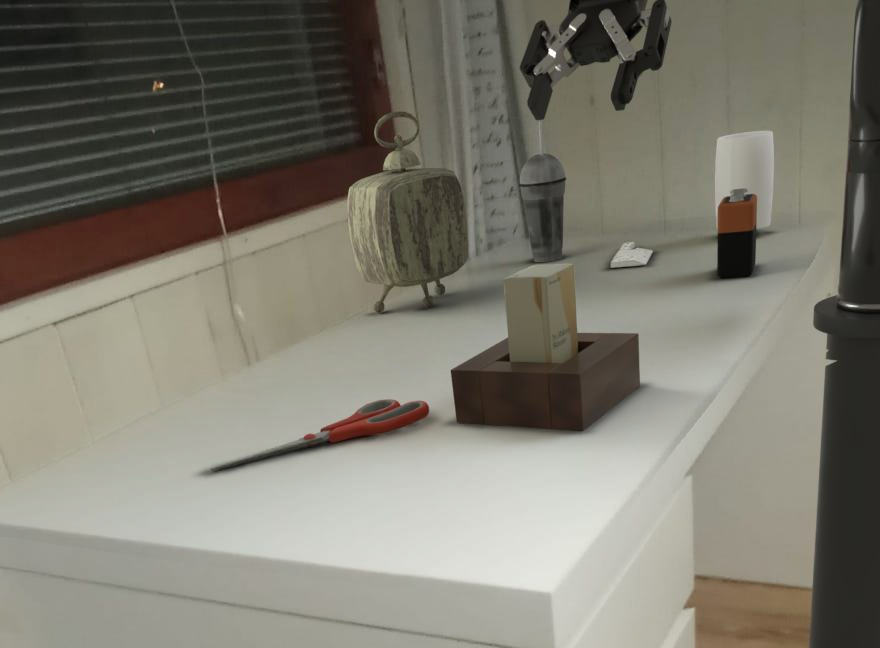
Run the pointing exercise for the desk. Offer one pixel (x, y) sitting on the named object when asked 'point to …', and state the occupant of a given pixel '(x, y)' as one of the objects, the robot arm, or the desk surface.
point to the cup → (746, 170)
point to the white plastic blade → (630, 256)
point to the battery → (736, 234)
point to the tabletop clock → (407, 222)
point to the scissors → (356, 426)
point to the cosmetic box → (541, 314)
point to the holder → (547, 384)
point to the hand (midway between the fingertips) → (575, 109)
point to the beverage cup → (544, 203)
